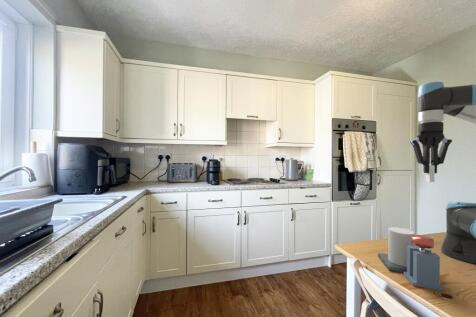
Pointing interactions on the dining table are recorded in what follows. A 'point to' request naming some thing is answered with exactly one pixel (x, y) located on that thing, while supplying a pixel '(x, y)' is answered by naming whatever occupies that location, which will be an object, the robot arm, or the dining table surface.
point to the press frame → (423, 268)
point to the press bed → (391, 264)
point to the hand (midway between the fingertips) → (430, 181)
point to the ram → (422, 242)
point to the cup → (399, 244)
